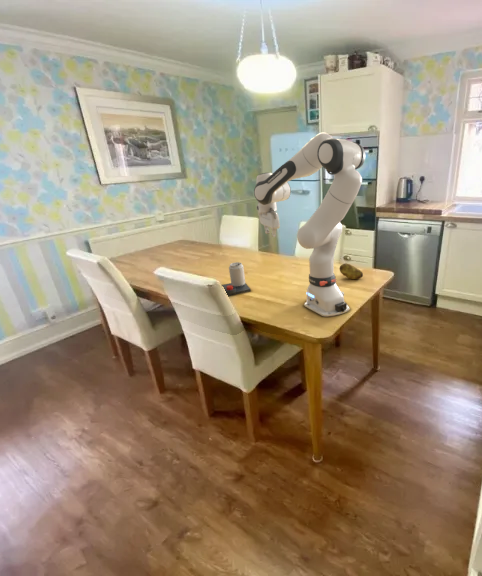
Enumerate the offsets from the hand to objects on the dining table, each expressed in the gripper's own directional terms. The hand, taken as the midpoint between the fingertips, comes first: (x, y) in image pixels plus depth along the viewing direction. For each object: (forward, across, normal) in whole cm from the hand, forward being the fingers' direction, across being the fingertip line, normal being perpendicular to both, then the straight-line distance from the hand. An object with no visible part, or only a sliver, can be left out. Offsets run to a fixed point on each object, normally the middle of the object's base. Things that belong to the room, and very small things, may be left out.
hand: (270, 235), depth 163 cm
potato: (+29, -12, -40) cm, 51 cm away
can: (+26, +8, +18) cm, 33 cm away
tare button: (+25, +1, +24) cm, 35 cm away
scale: (+27, +6, +20) cm, 35 cm away
